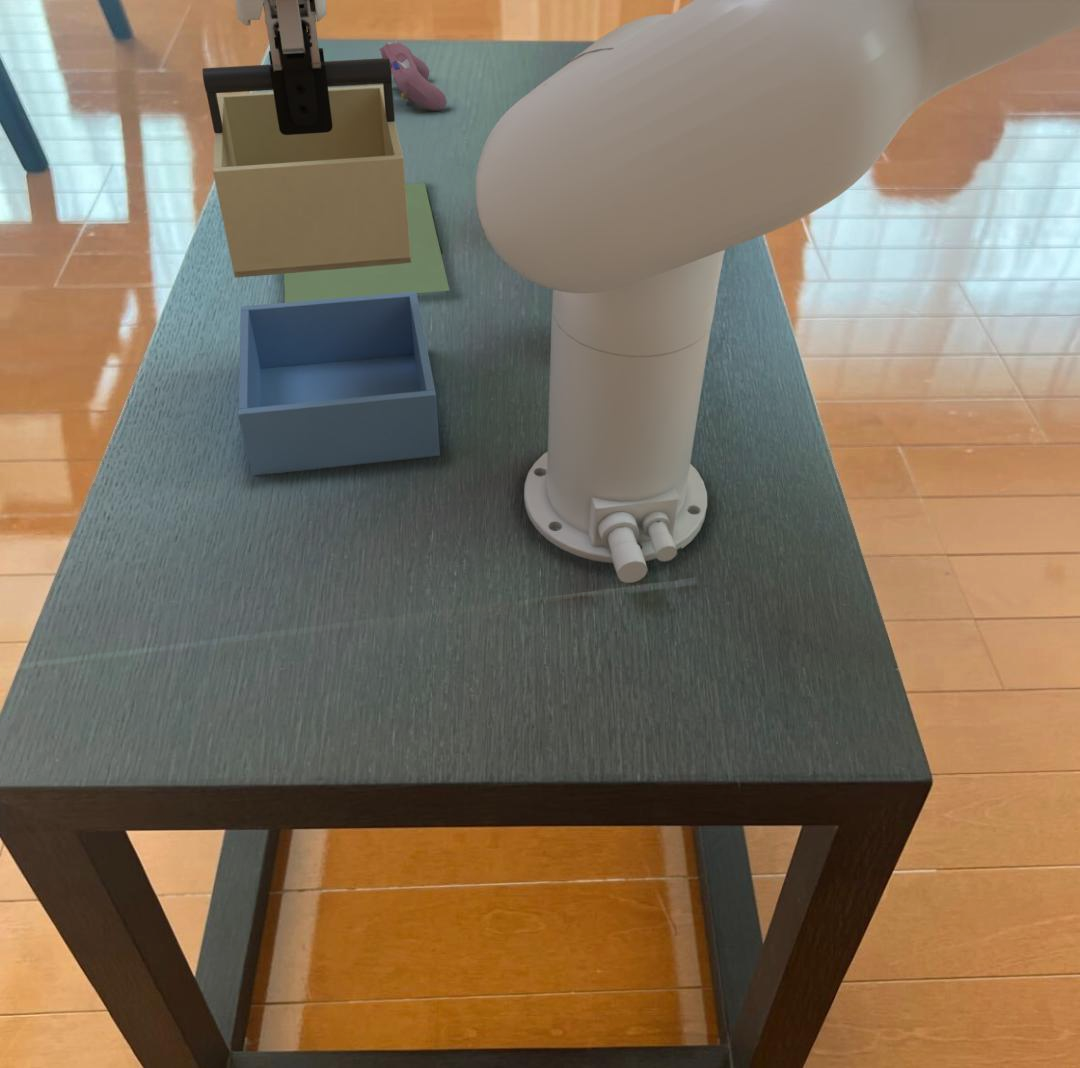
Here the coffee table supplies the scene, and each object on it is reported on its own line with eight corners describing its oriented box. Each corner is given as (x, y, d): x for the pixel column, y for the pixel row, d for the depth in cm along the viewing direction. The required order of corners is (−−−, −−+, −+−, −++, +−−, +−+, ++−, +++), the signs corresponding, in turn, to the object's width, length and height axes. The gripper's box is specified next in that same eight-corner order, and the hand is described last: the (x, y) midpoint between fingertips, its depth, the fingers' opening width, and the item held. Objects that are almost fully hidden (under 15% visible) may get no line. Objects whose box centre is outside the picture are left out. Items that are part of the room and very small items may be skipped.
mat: (450, 296, 93) (449, 290, 92) (285, 310, 91) (284, 304, 90) (425, 188, 107) (424, 182, 106) (282, 198, 105) (281, 192, 104)
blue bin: (440, 461, 77) (436, 394, 73) (253, 481, 75) (238, 414, 71) (421, 355, 86) (416, 291, 82) (254, 371, 85) (240, 306, 80)
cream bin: (411, 263, 68) (398, 95, 61) (234, 278, 67) (199, 107, 59) (394, 183, 76) (381, 25, 68) (235, 195, 74) (204, 35, 67)
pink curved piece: (398, 94, 126) (366, 42, 121) (431, 73, 126) (400, 19, 121) (416, 129, 120) (384, 75, 115) (451, 107, 119) (420, 52, 114)
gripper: (183, -263, 58) (244, 78, 71) (170, -203, 47) (244, 187, 60) (322, -266, 59) (357, 71, 72) (340, -207, 49) (377, 177, 61)
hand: (305, 122), depth 66 cm, fingers closed on cream bin, 1 cm apart
